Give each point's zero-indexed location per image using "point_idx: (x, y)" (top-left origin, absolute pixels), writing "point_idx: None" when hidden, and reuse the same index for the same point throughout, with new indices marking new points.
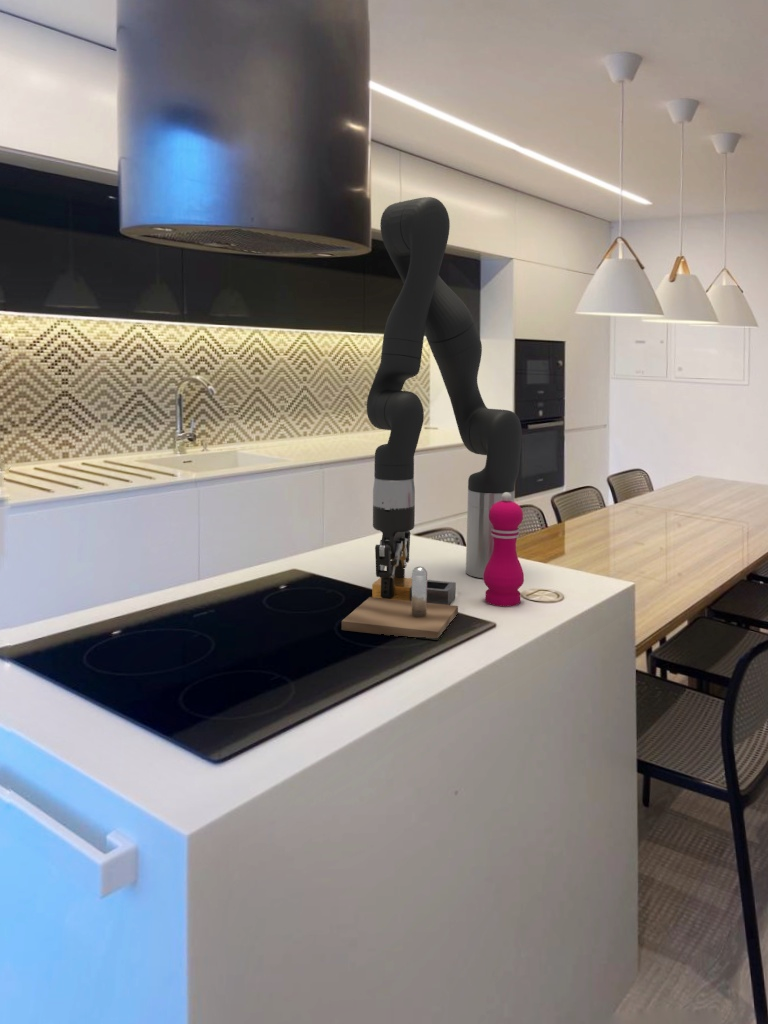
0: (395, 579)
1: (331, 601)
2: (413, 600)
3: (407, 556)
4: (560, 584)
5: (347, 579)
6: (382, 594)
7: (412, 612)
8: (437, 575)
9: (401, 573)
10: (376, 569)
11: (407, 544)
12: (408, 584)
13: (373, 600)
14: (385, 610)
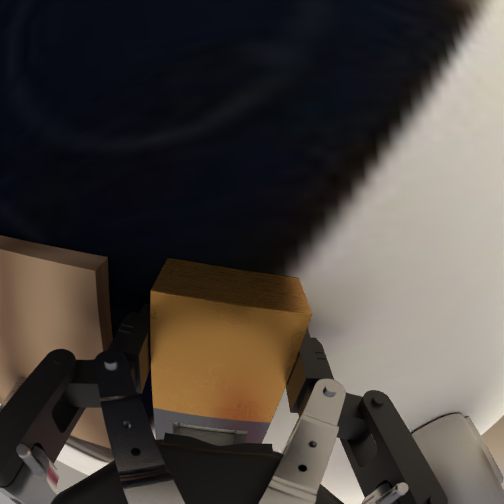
0: (254, 367)
1: (120, 99)
2: (1, 404)
3: (346, 450)
4: (344, 500)
5: (445, 122)
6: (129, 315)
7: (15, 383)
8: (445, 379)
9: (290, 393)
10: (34, 372)
11: (364, 493)
12: (192, 405)
13: (65, 289)
14: (13, 326)
